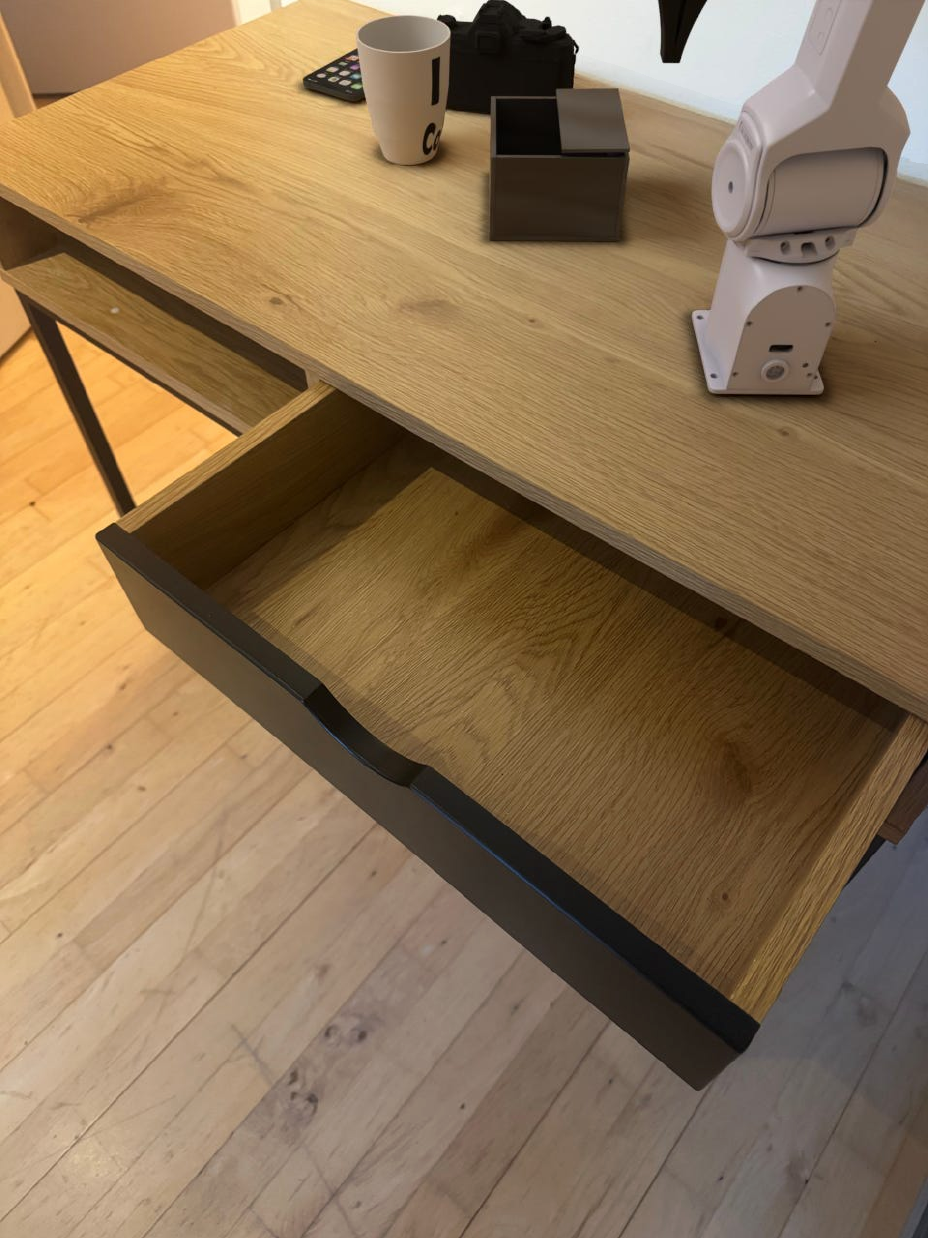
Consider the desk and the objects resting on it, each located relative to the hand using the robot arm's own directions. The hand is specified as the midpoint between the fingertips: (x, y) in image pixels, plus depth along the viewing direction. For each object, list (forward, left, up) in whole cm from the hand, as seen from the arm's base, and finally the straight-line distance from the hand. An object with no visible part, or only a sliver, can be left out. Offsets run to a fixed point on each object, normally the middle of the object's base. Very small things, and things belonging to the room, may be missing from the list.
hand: (669, 58), depth 73 cm
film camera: (+18, +13, -11) cm, 25 cm away
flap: (-4, +6, -3) cm, 8 cm away
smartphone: (+24, +27, -10) cm, 38 cm away
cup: (+6, +22, -11) cm, 25 cm away
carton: (-4, +9, -10) cm, 14 cm away
